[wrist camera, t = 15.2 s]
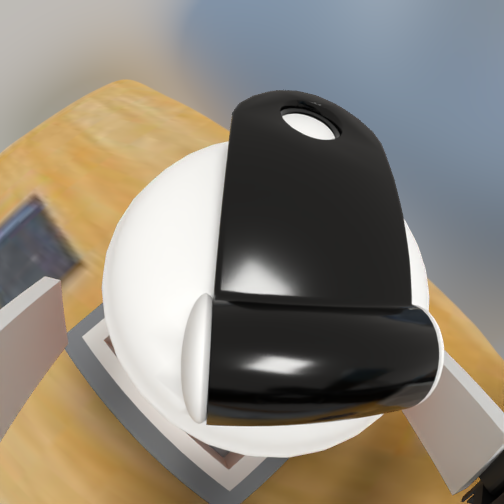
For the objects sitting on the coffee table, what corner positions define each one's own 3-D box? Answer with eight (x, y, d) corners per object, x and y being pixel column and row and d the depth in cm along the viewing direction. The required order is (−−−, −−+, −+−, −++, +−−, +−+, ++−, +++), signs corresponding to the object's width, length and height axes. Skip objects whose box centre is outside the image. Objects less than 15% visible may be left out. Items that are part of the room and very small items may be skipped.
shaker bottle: (269, 302, 25) (406, 103, 8) (285, 404, 21) (525, 383, 4) (165, 308, 23) (110, 72, 6) (173, 416, 19) (57, 512, 2)
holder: (369, 352, 25) (400, 341, 21) (224, 510, 16) (231, 534, 12) (223, 215, 30) (229, 183, 25) (63, 342, 21) (37, 328, 16)
